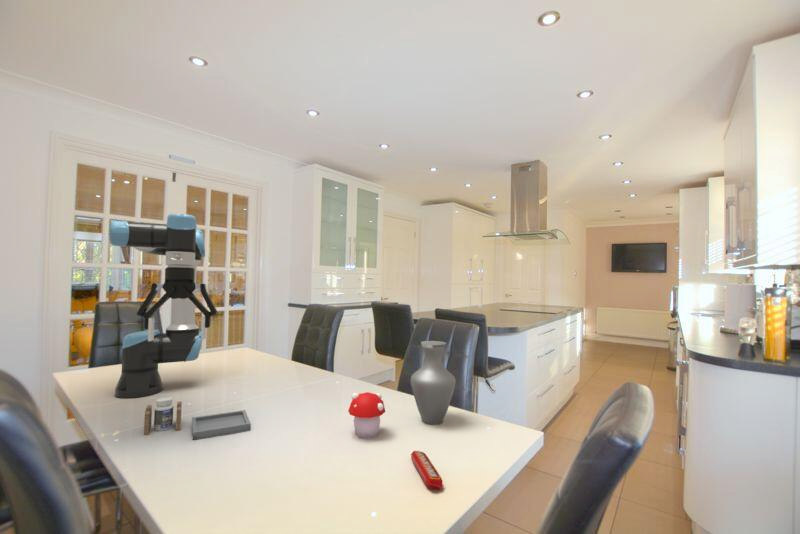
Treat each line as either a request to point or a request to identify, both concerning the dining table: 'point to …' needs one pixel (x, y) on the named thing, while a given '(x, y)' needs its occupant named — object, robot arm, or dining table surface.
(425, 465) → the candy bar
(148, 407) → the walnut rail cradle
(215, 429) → the slate tray
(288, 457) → the dining table surface
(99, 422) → the dining table surface
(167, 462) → the dining table surface
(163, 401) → the pill bottle
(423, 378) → the vase
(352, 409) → the mushroom
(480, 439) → the dining table surface
